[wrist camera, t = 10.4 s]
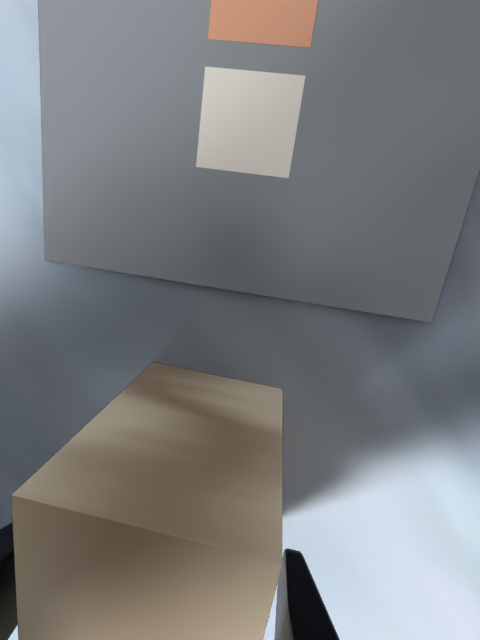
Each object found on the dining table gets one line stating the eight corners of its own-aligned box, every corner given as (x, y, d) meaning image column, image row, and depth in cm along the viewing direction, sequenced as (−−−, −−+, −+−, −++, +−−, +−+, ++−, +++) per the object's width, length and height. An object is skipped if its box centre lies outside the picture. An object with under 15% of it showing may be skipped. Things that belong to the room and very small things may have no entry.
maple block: (142, 497, 12) (22, 718, 7) (155, 360, 11) (11, 495, 5) (253, 524, 12) (226, 784, 6) (282, 386, 10) (282, 563, 5)
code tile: (49, 260, 10) (44, 260, 10) (36, -271, 7) (29, -287, 7) (428, 321, 9) (432, 322, 9) (614, -279, 6) (627, -299, 6)
